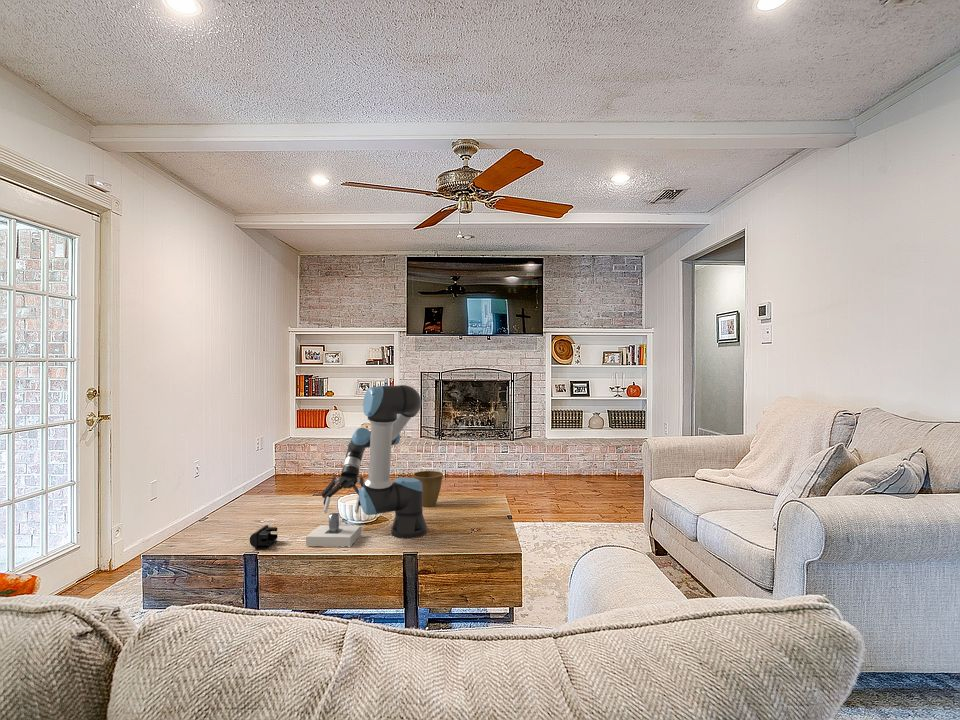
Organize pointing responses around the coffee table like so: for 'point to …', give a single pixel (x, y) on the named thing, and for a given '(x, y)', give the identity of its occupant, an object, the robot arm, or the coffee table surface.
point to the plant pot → (429, 486)
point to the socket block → (333, 536)
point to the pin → (334, 523)
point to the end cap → (263, 538)
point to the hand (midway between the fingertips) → (340, 511)
